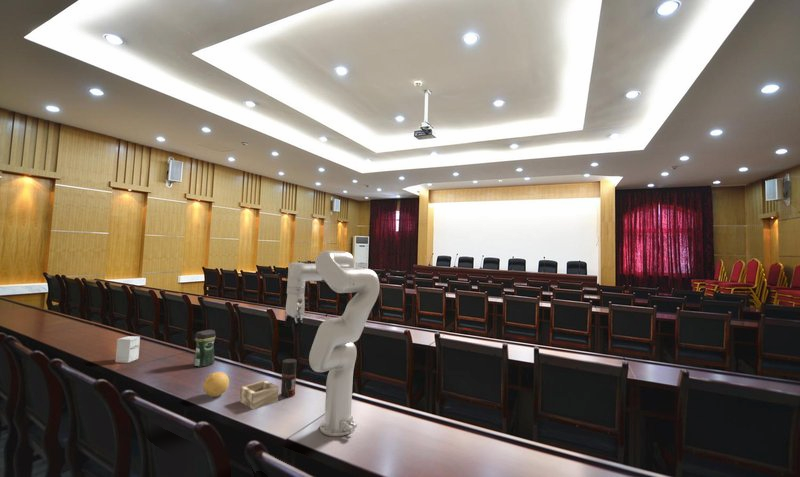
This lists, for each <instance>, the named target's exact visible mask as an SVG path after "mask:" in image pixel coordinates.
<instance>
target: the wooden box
mask: <svg viewBox="0 0 800 477" xmlns="http://www.w3.org/2000/svg"><path fill="white" fill-rule="evenodd" d="M239 389H240V392H239V402H241V403H242V404H243V405H245V406H246V407H247V408H250V409H252V410H255V409H258V408H261V407H265V406H268V405H271V404H274V403H276V402H279V386H277V385H275V384H273V383H272V382H270V381H268V380H265V379H264V380H259V381H257V382H253V383H250V384H246V385H243V386H240V388H239Z"/></svg>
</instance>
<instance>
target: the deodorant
mask: <svg viewBox="0 0 800 477" xmlns="http://www.w3.org/2000/svg"><path fill="white" fill-rule="evenodd" d="M297 362H298V361H297V359H296V358H295V359H294V358H286V359H283V360H282V366H281V367H282V369H281V384H280V386H281V387H280V397H282V398H284V399H287V398H288V399H290V398H293V397H294V396H295V395H296V381H297V379H296V378H297Z"/></svg>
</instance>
